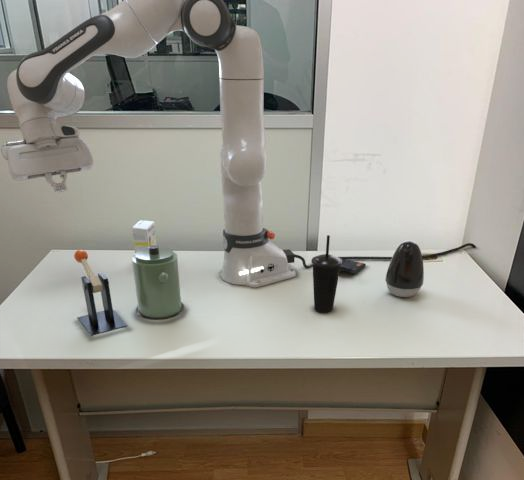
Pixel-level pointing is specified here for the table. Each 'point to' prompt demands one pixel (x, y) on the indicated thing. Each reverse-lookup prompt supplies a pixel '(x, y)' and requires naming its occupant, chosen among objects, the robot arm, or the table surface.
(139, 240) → the ink box
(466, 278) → the table surface
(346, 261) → the calculator
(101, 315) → the switch bracket
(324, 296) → the drinking cup
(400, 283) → the black egg-shaped device
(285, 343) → the table surface
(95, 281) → the switch lever
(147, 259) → the green canister
